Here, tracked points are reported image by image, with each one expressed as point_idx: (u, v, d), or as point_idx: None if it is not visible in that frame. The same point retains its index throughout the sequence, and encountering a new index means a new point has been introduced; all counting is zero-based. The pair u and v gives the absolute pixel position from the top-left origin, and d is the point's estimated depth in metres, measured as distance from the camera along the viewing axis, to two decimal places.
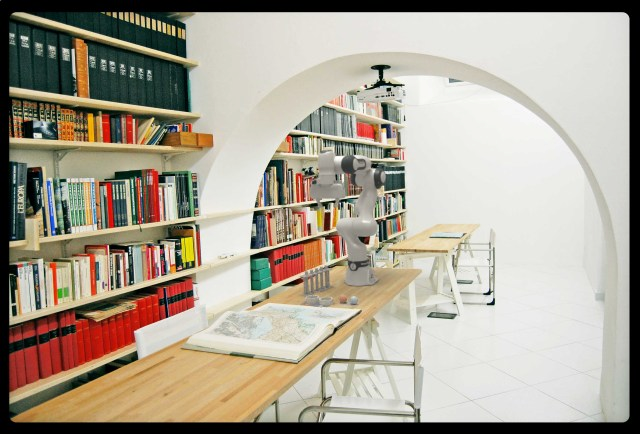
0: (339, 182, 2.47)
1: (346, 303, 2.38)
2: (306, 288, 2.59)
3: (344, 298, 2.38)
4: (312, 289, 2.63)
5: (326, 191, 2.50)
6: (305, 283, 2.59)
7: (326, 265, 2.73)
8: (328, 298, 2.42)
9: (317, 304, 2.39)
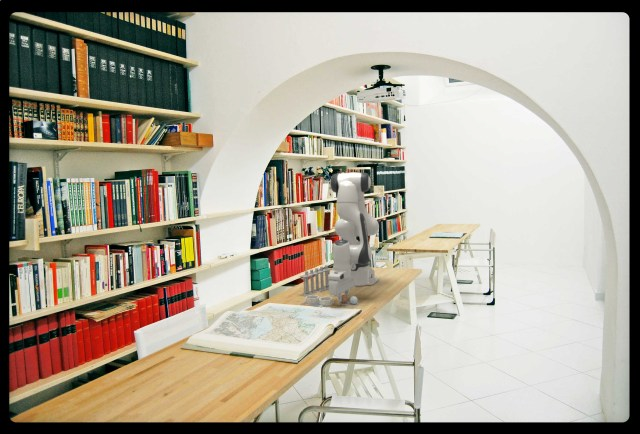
0: (350, 272, 2.45)
1: (346, 303, 2.38)
2: (306, 288, 2.60)
3: (344, 298, 2.38)
4: (312, 289, 2.63)
5: (345, 284, 2.38)
6: (305, 283, 2.60)
7: (326, 265, 2.74)
8: (328, 298, 2.42)
9: (317, 304, 2.39)
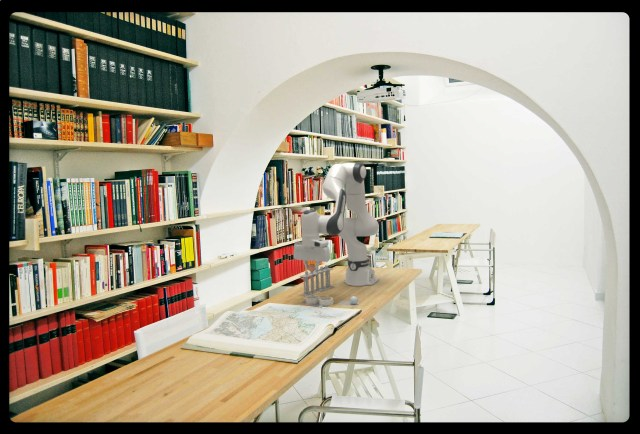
0: None
1: (346, 303, 2.38)
2: (306, 288, 2.60)
3: None
4: (312, 289, 2.63)
5: None
6: (306, 283, 2.60)
7: (327, 265, 2.74)
8: (328, 298, 2.42)
9: (317, 304, 2.39)
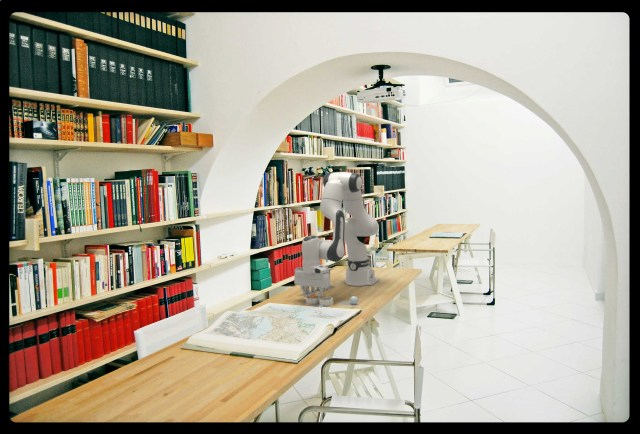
0: None
1: (346, 303, 2.38)
2: (306, 288, 2.60)
3: None
4: (312, 289, 2.63)
5: None
6: None
7: (327, 265, 2.74)
8: (328, 298, 2.42)
9: (317, 304, 2.39)
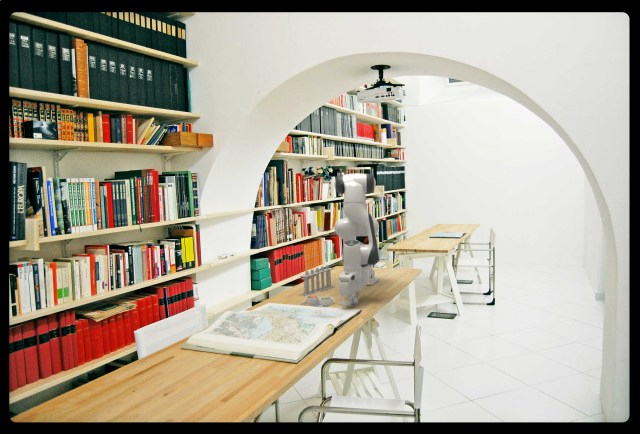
0: None
1: (346, 303, 2.38)
2: (307, 288, 2.60)
3: None
4: (313, 289, 2.63)
5: (356, 285, 2.35)
6: (306, 283, 2.60)
7: (327, 265, 2.74)
8: (328, 298, 2.42)
9: (317, 304, 2.39)
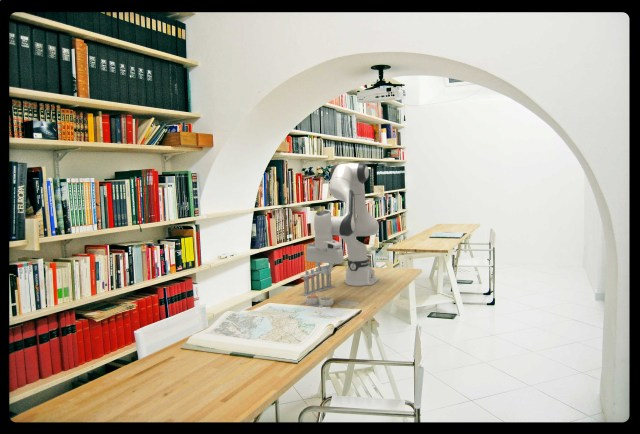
0: None
1: (346, 303, 2.38)
2: (307, 288, 2.60)
3: None
4: (313, 289, 2.64)
5: None
6: None
7: (327, 265, 2.74)
8: (328, 298, 2.42)
9: (317, 304, 2.39)
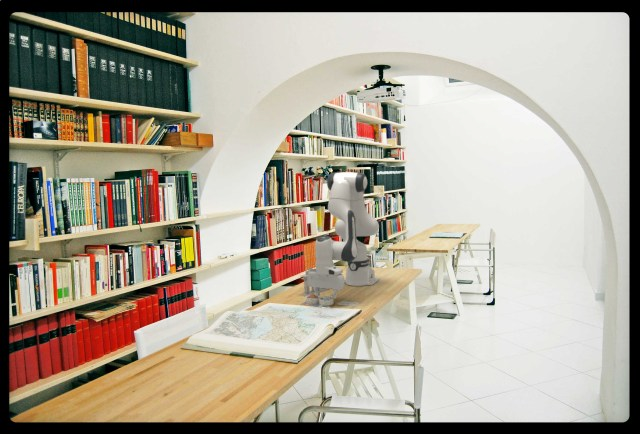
0: None
1: (346, 303, 2.38)
2: (307, 288, 2.60)
3: None
4: (313, 289, 2.64)
5: None
6: (306, 283, 2.60)
7: None
8: None
9: (317, 304, 2.39)
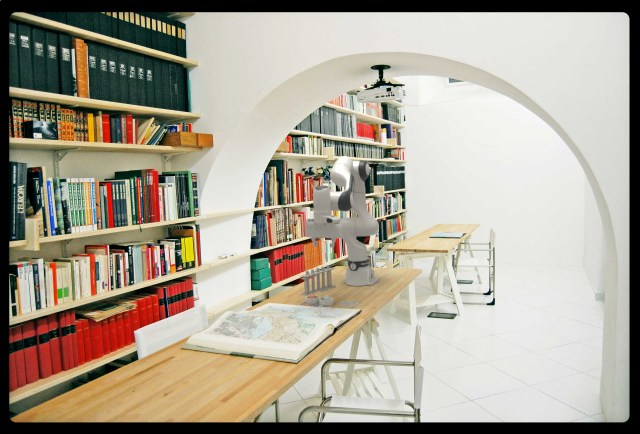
0: None
1: (346, 303, 2.38)
2: (307, 287, 2.60)
3: None
4: (313, 289, 2.64)
5: None
6: (306, 283, 2.60)
7: (328, 265, 2.74)
8: None
9: (317, 304, 2.39)
